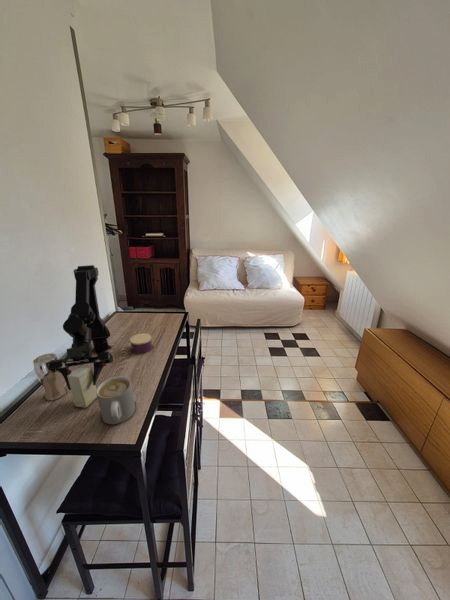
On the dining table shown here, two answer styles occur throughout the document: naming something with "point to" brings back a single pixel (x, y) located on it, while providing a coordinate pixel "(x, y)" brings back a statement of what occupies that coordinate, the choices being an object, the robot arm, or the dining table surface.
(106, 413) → the coffee mug
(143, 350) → the jar
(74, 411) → the dining table surface
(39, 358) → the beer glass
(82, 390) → the cosmetic box
